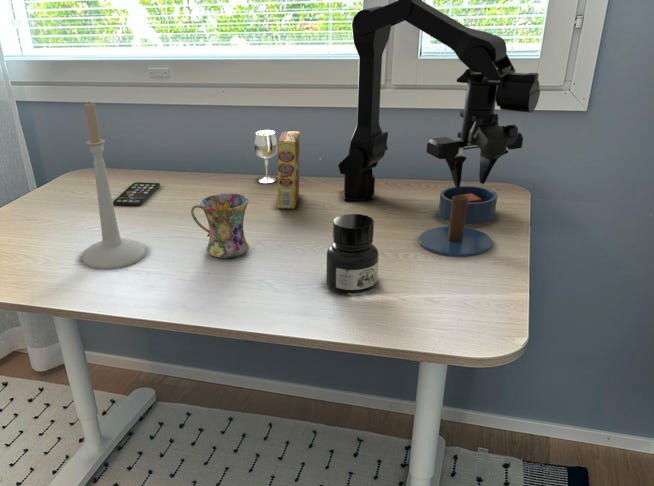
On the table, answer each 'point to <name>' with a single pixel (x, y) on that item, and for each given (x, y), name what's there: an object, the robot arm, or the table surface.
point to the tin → (469, 204)
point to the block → (473, 198)
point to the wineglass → (266, 150)
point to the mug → (224, 224)
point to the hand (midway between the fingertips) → (469, 185)
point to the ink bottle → (352, 255)
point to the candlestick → (107, 211)
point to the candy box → (288, 169)
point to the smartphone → (136, 193)
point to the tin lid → (456, 234)
